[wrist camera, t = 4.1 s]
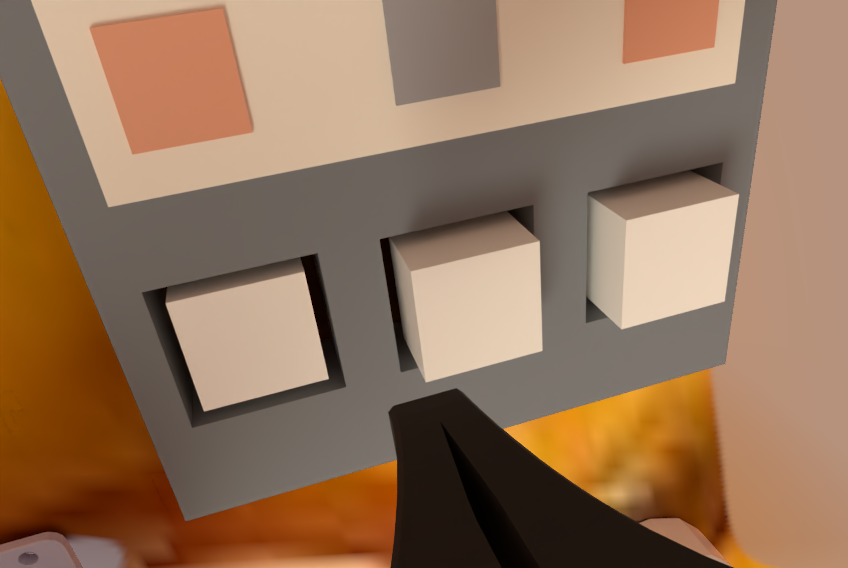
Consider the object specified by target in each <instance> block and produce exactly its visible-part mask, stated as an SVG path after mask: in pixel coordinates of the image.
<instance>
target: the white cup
mask: <svg viewBox="0 0 848 568" xmlns="http://www.w3.org/2000/svg"><path fill="white" fill-rule="evenodd" d="M639 524H641V525H643V526H645V527H647V528H649V529H650V530H652V531H654V532H656V533H659V534H661V535H663V536H665V537H667V538H669V539H671V540H673V541H675V542H677V543H679V544H681V545H683V546H686V547H688V548H690V549H692V550H694V551H696V552H698V553H700V554H702V555H704V556H707V557H709V558H711V559H714V560H716V561H719V562H721V563H724V564H726V565H728V566H731V565H730V564H729V563H728V562H727V561H726V559H725V558H724V557H723V556H722V555H721V554H720V553H719V552H718V551H717V549H716V548H715V547H714V546H713V545H712V544H711V543H710V542H709V540H708V539H707V538H706V537H705V536H704V535H703V534H702V533H701V532H700V531H699V530H698V529H697V528H695V527H694V526H692V525H690V524H688V523H687V522H685V521H683V520H681V519H680V518H655V519H648V520H645V521H642V522H640V523H639Z"/></svg>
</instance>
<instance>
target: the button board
mask: <svg viewBox="0 0 848 568" xmlns="http://www.w3.org/2000/svg"><path fill="white" fill-rule="evenodd" d="M776 5H777V0H0V78H1V81H2V83H3V86H4V88H5V90H6V93H7V95H8V98H9V100H10V102H11V105H12V107H13V109H14V112H15V114H16V117H17V119H18V121H19V124H20V126H21V129H22V131H23V133H24V136H25V138H26V141H27V143H28V145H29V148H30V150H31V152H32V155H33V157H34V160H35V162H36V164H37V167H38V169H39V172H40V174H41V176H42V179H43V181H44V184H45V186H46V188H47V191H48V193H49V196H50V198H51V200H52V203H53V205H54V207H55V210H56V212H57V215H58V217H59V219H60V222H61V224H62V227H63V229H64V231H65V234H66V236H67V239H68V241H69V243H70V246H71V248H72V250H73V253H74V255H75V258H76V260H77V262H78V265H79V267H80V270H81V272H82V274H83V277H84V279H85V282H86V284H87V286H88V289H89V291H90V294H91V296H92V298H93V301H94V303H95V305H96V308H97V310H98V313H99V315H100V317H101V320H102V322H103V325H104V327H105V329H106V332H107V334H108V337H109V339H110V341H111V344H112V346H113V349H114V351H115V353H116V356H117V358H118V360H119V363H120V365H121V368H122V370H123V372H124V375H125V377H126V380H127V382H128V384H129V387H130V389H131V392H132V394H133V396H134V399H135V401H136V403H137V406H138V408H139V411H140V413H141V415H142V418H143V420H144V423H145V425H146V427H147V430H148V432H149V435H150V437H151V439H152V442H153V444H154V447H155V449H156V451H157V454H158V456H159V458H160V461H161V463H162V466H163V468H164V470H165V473H166V475H167V478H168V480H169V482H170V485H171V487H172V490H173V492H174V494H175V497H176V499H177V502H178V504H179V506H180V509H181V511H182V513H183V516H184V518H185V521H189V520H192V519H196V518H199V517H203V516H206V515H209V514H213V513H216V512H220V511H223V510H226V509H230V508H233V507H237V506H240V505H244V504H247V503H250V502H254V501H257V500H261V499H264V498H268V497H271V496H274V495H278V494H281V493H285V492H288V491H291V490H295V489H298V488H302V487H305V486H309V485H312V484H315V483H319V482H322V481H326V480H329V479H332V478H336V477H339V476H343V475H346V474H350V473H353V472H356V471H360V470H363V469H367V468H370V467H374V466H377V465H380V464H384V463H387V462H391V461H394V460H397V456H396V451H395V445H394V440H393V435H392V430H391V425H390V419H389V414H388V412H389V411H390V409H391V408H392V407H393V406H394V405H398V404H401V403H405V402H408V401H412V400H416V399H419V398H423V397H426V396H430V395H433V394H437V393H440V392H444V391H448V390H451V389H455V388H457V389H459V390H461V391H462V392H463V393H464V394H465V395H466V396H467V397H468V398H469V399H470V400H471V401H472V402H473V403H474V404H475V405H477V406H478V407H479V408H480V409H481V410H482V411H483V412H484V413H485V414H486V415H487V416H488V417H489V418H491V419H492V420H493V421H494V422H495V423H496V424H497V425H499V426H500V427H501V428H502V429H503V428H507V427H510V426H514V425H517V424H521V423H524V422H527V421H531V420H534V419H538V418H541V417H544V416H548V415H551V414H555V413H558V412H562V411H565V410H568V409H572V408H575V407H579V406H582V405H586V404H589V403H592V402H596V401H599V400H603V399H606V398H609V397H613V396H616V395H620V394H623V393H627V392H630V391H633V390H637V389H640V388H644V387H647V386H650V385H654V384H657V383H661V382H664V381H668V380H671V379H674V378H678V377H681V376H685V375H688V374H692V373H695V372H698V371H702V370H705V369H709V368H712V367H715V366H719V365H722V364H725V361H726V355H727V348H728V340H729V334H730V326H731V320H732V313H733V306H734V299H735V292H736V285H737V277H738V271H739V263H740V256H741V250H742V243H743V236H744V229H745V222H746V215H747V208H748V200H749V194H750V187H751V179H752V173H753V166H754V159H755V152H756V145H757V138H758V131H759V124H760V117H761V109H762V103H763V96H764V89H765V82H766V75H767V68H768V61H769V53H770V47H771V40H772V33H773V26H774V19H775V12H776ZM686 170H690V171H692V172H694V173H696V174H698V175H700V176H703V177H705V178H707V179H709V180H711V181H713V182H715V183H717V184H719V185H721V186H723V187H726V188H728V189H730V190H732V191H734V192H736V193H738V194H739V199H738V206H737V214H736V221H735V228H734V236H733V243H732V251H731V258H730V265H729V273H728V280H727V288H726V295H725V302H721V303H717V304H713V305H710V306H706V307H702V308H699V309H695V310H691V311H688V312H684V313H680V314H677V315H673V316H669V317H666V318H662V319H658V320H655V321H651V322H647V323H643V324H640V325H636V326H632V327H629V328H625V329H620V328H619V327H618V326H617V325H616V324H615V323H614V322H613V321H612V320H611V319H610V318H609V317H608V316H607V315H605V314H604V313H603V312H602V311H601V310H600V309H599V308H598V307H597V306H596V305H595V304H594V303H593V302H592V301H591V300H590V299H588V298H587V297H586V270H587V195H588V192H592V191H597V190H601V189H606V188H610V187H615V186H619V185H624V184H628V183H633V182H637V181H642V180H646V179H651V178H655V177H659V176H664V175H668V174H673V173H677V172H682V171H686ZM503 211H507V212H508V213H509V214H510V215H512V216H513V217H514V218H515V219H516V220H517V221H518V222H519V223H520V224H521V225H523V226H524V227H525V228H526V229H527V230H528V231H529V232H530V233H531V234H532V235H534V236H535V237H536V238H537V239H538V240H539V241H540V273H541V311H542V349H543V351H540V352H537V353H533V354H529V355H525V356H522V357H518V358H514V359H511V360H507V361H503V362H500V363H496V364H492V365H489V366H485V367H481V368H478V369H474V370H470V371H467V372H463V373H459V374H455V375H452V376H448V377H444V378H441V379H437V380H433V381H430V382H425V380H424V378H423V376H422V374H421V372H420V370H419V368H418V366H417V363H416V361H415V359H414V357H413V355H412V353H411V351H410V349H409V347H408V345H407V343H406V341H405V339H404V336H403V329H402V322H401V321H399V322H395V323H393V321H392V314H391V308H390V302H389V295H388V289H387V283H386V277H385V270H384V264H383V258H382V251H381V245H380V239H383V238H387V237H392V236H396V235H400V234H405V233H409V232H414V231H418V230H423V229H427V228H432V227H436V226H441V225H445V224H450V223H454V222H459V221H463V220H467V219H472V218H476V217H481V216H485V215H490V214H494V213H499V212H503ZM311 254H313V256H314V260H315V265H316V269H317V274H318V279H319V283H320V288H321V292H322V297H323V302H324V306H325V311H326V316H327V320H328V325H329V329H330V334H331V339H327V340H323V341H320V342H321V347H322V351H323V355H324V360H325V364H326V369H327V373H328V377H329V379H327V380H323V381H319V382H315V383H311V384H307V385H304V386H300V387H296V388H292V389H288V390H285V391H281V392H277V393H273V394H269V395H266V396H262V397H258V398H254V399H250V400H246V401H243V402H239V403H235V404H231V405H227V406H224V407H220V408H216V409H212V410H208V411H205V412H204V410H203V408H202V405H201V402H200V399H199V396H198V394H197V391H196V388H195V385H194V382H193V380H192V377H191V374H190V371H189V368H188V366H187V363H186V360H185V357H184V354H183V352H182V349H181V346H180V343H179V340H178V337H177V335H176V332H175V329H174V326H173V323H172V321H171V318H170V315H169V312H168V309H167V307H166V304H165V302H166V291H165V289H164V287H168V286H173V285H177V284H182V283H186V282H191V281H195V280H200V279H204V278H208V277H213V276H217V275H222V274H226V273H231V272H235V271H240V270H244V269H249V268H253V267H258V266H262V265H267V264H271V263H275V262H280V261H284V260H289V259H293V258H298V257H302V256H307V255H311Z"/></svg>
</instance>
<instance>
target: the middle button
mask: <svg viewBox="0 0 848 568" xmlns="http://www.w3.org/2000/svg"><path fill="white" fill-rule="evenodd" d="M389 243H390V250H391V256H392V263H393V269H394V276H395V283H396V289H397V296H398V303H399V309H400V316H401V322H402V329H403V336H404V339H405V341H406V343H407V345H408V347H409V349H410V351H411V353H412V355H413V357H414V359H415V361H416V363H417V366H418V368H419V370H420V372H421V374H422V376H423V378H424V380H425V382H430V381H433V380H437V379H441V378H444V377H448V376H452V375H455V374H459V373H463V372H467V371H470V370H474V369H478V368H481V367H485V366H489V365H492V364H496V363H500V362H503V361H507V360H511V359H514V358H518V357H522V356H525V355H529V354H533V353H537V352H540V351H543V349H542V311H541V273H540V241H539V240H538V239H537V238H536V237H535V236H534V235H532V234H531V233H530V232H529V231H528V230H527V229H526V228H525V227H524V226H523V225H521V224H520V223H519V222H518V221H517V220H516V219H515V218H514V217H513V216H512V215H510V214H509V213H508V212H507V211H503V212H499V213H494V214H490V215H485V216H481V217H476V218H472V219H467V220H463V221H459V222H454V223H450V224H445V225H441V226H436V227H432V228H427V229H423V230H418V231H414V232H409V233H405V234H400V235H396V236H392V237H389Z"/></svg>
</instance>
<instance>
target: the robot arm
mask: <svg viewBox="0 0 848 568" xmlns="http://www.w3.org/2000/svg"><path fill="white" fill-rule="evenodd" d="M388 414H389V419H390V425H391V430H392V435H393V440H394V445H395V451H396V456H397V509H396V523H395V536H394V545H393V554H392V561H391V568H733V567H731V566H728V565H726V564H724V563H721V562H719V561H716V560H714V559H711V558H709V557H707V556H704V555H702V554H700V553H698V552H696V551H694V550H692V549H690V548H688V547H686V546H683V545H681V544H679V543H677V542H675V541H673V540H671V539H669V538H667V537H665V536H663V535H661V534H659V533H656V532H654V531H652V530H650V529H649V528H647V527H645V526H643V525H641V524H639V523H638V522H636V521H634V520H632V519H630V518H629V517H627V516H625V515H623V514H621V513H620V512H618V511H616V510H615V509H613V508H611V507H610V506H608V505H606V504H605V503H603V502H601V501H600V500H598V499H597V498H595V497H593V496H592V495H590V494H589V493H587V492H586V491H584V490H583V489H581V488H580V487H578V486H577V485H575V484H574V483H572V482H571V481H569V480H568V479H566V478H565V477H564V476H562V475H561V474H559V473H558V472H557V471H555V470H554V469H552V468H551V467H550V466H548V465H547V464H546V463H544V462H543V461H542V460H540V459H539V458H538V457H536V456H535V455H534V454H533V453H531V452H530V451H529V450H528V449H526V448H525V447H524V446H523V445H521V444H520V443H519V442H518V441H516V440H515V439H514V438H513V437H511V436H510V435H509V434H508V433H507V432H505V431H504V430H503V429H502V428H501V427H500V426H499V425H497V424H496V423H495V422H494V421H493V420H492V419H491V418H489V417H488V416H487V415H486V414H485V413H484V412H483V411H482V410H481V409H480V408H479V407H478V406H477V405H475V404H474V403H473V402H472V401H471V400H470V399H469V398H468V397H467V396H466V395H465V394H464V393H463V392H462V391H461V390H459V389H457V388H455V389H451V390H448V391H444V392H440V393H437V394H433V395H430V396H426V397H423V398H419V399H416V400H412V401H408V402H405V403H401V404H398V405H394V406H393V407H392V408H391V409H390V411H389V412H388ZM25 552H32V553H35V554H26V553H25ZM0 568H82V566H81V564H80V562H79V561H78V559H77V557H76V555H75V553H74V552H73V550H72V548H71V546H70V544H69V543H68V541H67V539H66V538H65V537H64V536H63V535H61V534H59V533H57V532H45V533H40V534H36V535H33V536H29V537H26V538H22V539H19V540H15V541H12V542H8V543H5V544H1V545H0Z"/></svg>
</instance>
